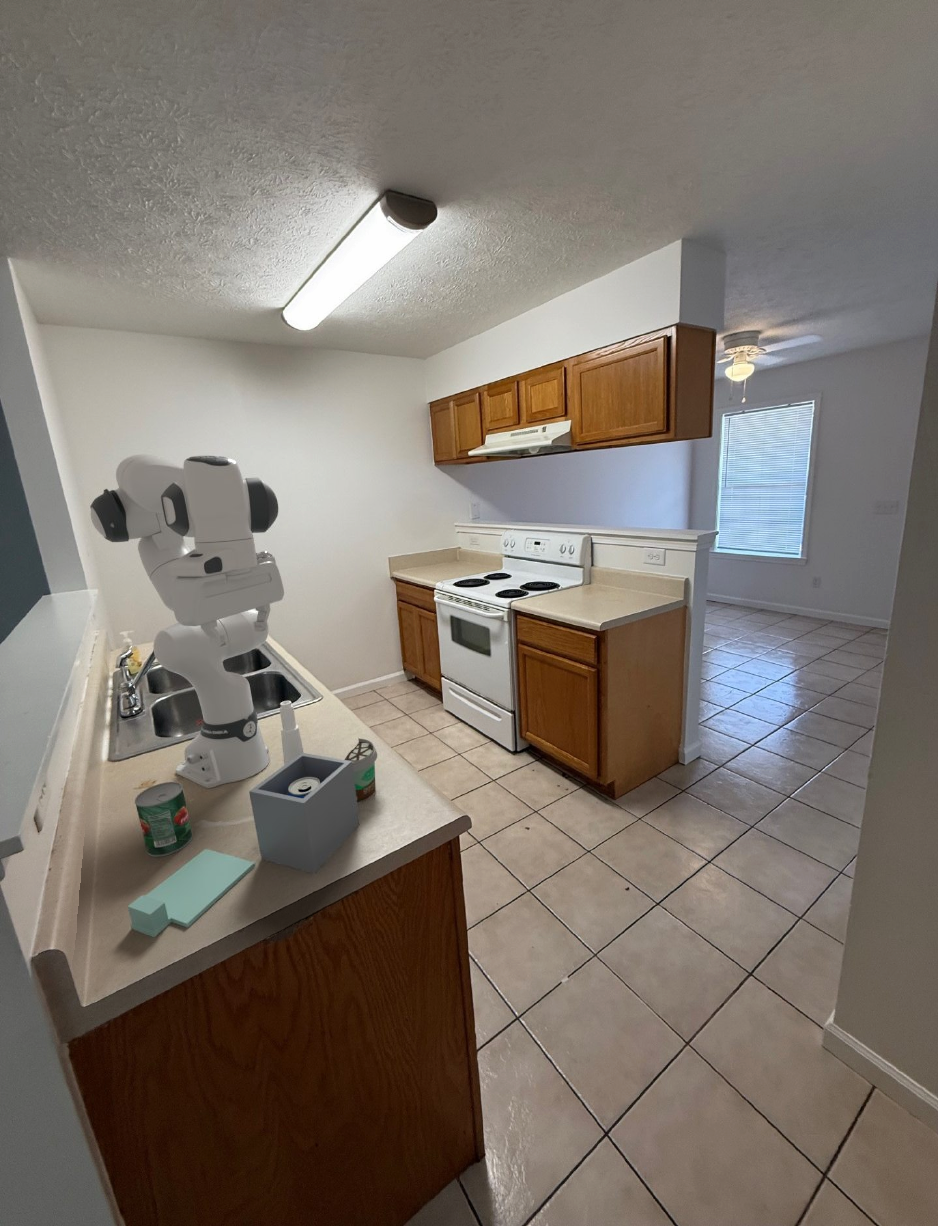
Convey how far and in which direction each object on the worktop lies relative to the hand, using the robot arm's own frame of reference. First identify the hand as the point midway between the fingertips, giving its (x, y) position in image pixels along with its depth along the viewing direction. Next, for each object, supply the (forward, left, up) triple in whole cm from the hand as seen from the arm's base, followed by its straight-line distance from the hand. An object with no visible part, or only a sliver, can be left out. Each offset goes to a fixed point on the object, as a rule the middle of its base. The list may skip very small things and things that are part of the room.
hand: (241, 638), depth 86 cm
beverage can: (+6, +3, -41) cm, 42 cm away
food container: (+7, +20, -41) cm, 46 cm away
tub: (+6, +3, -41) cm, 42 cm away
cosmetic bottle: (-7, +15, -41) cm, 45 cm away
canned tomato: (-21, -6, -41) cm, 47 cm away
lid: (-6, -14, -41) cm, 44 cm away
